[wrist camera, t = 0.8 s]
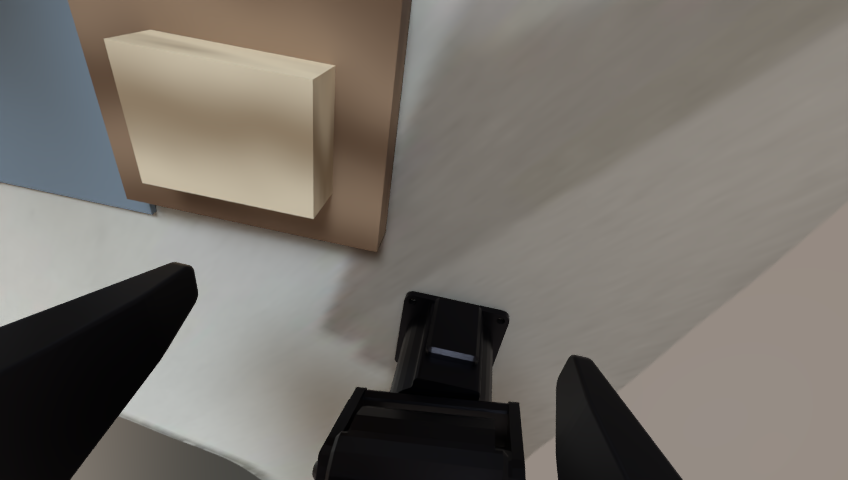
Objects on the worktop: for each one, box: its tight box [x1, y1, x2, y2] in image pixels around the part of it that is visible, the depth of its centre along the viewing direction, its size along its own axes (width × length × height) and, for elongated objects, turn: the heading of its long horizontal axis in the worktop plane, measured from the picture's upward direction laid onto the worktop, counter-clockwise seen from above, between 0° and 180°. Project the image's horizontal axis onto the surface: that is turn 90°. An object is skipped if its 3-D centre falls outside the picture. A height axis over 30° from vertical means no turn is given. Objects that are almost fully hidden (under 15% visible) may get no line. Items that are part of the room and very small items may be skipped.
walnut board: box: [68, 0, 412, 252], centre depth 20 cm, size 12×14×2 cm
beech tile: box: [104, 30, 335, 219], centre depth 18 cm, size 6×8×2 cm
